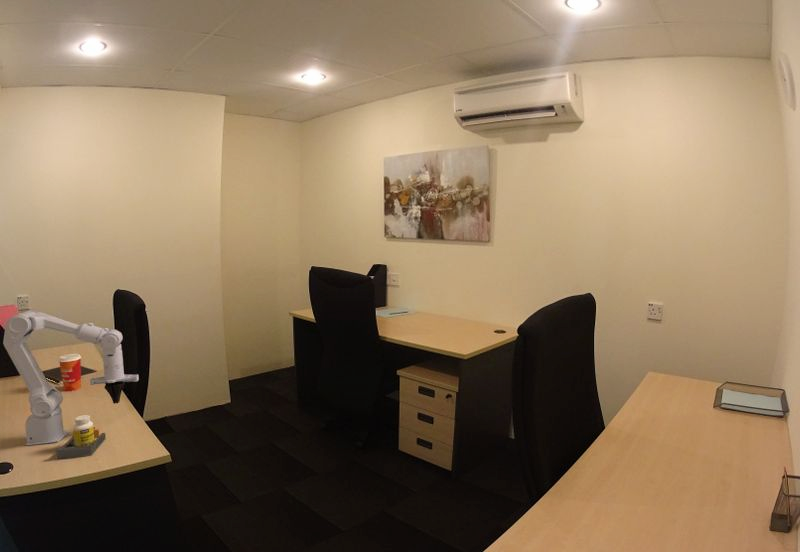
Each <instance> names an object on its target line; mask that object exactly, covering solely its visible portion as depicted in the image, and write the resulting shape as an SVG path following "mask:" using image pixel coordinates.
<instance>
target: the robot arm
mask: <svg viewBox="0 0 800 552" xmlns="http://www.w3.org/2000/svg"><path fill="white" fill-rule="evenodd" d="M3 329H4V335H3V342H2V344H3V346H4V348H5V350H6V351H7V354H8V356H9V357H10V359H11V362H12V363H13V364H14V366H15V368H16V370H17V372H18V374H19V375H20V377H21V380H22V381H23V382H24V384H25V386H26V388H27V390H28V391H29V392H28V394H29V395H28V402H29V404H30V408H29V409H30V413H31V414H30V415H29V416H28V417H27V418H26V420H25V438H26V444H25V446H33V445H34V446H35V445H43V444H51V443H52V444H53V443H58V442H61V440H63V438H64V437H65V436H67V435H68V434H69V433H70V430H64V423H63V422H64V421H63V411H62V407H61V404H62V403H63V400H64V395H63V394H62V392H60V391H59V390H58V389H56V387H55V385H53V383H50V382H49V381H48V380H46V378H45V376H44V374H43V372H42V371H43V370H42V368H41V367H40V365H39V363H38V361H37V359H36V358H35V356H34V354H33V352H32V350H31V348H30V346H29V345H28V343H27V342H28V341H27V340H28V339H29V338H30V335H31V334H32V332H34V331H35V332H36V331H39V330H43V329H44V330H45V329H48V330H54V331H58V332H63V333H67V334H71V335H73V336H75V338H76V339H77V340H78V341H79V340H80V341H83V342H87V343H89V344H93V345H97V346H100V348H101V349H102V362H103V373H104V376H100V377H99V376H98V377H92V378H91V379H89V385H90V386H95V385H103V384H104V390H106V391H107V393H108V394H109V396H110V397H111V400H112V403H113V404H119V403H120V402H121V394H122V392H123V389H124V386H125V384H126V382H127V383H130V382H134V383H135V382H138V381H139V380H140V379H139V378H140V377H139V374H125V371H124V370H125V369H124V358H123V350H122V343H121V342H122V341H123V339H124V338H123V337H124V336H123V334H122V332H121V331H119V330H117V329H115V328H111V329H109V328H108V327H105V328H104V327H103V328H102V327H100V326H97V325H94V323H93V322H89V323H82V324H76V323H74V322H71V321H67V320H64V319H63V318H59V317H55V316H53V315H50V314H47V313H45V312H41V311H40V312H38V311H36V310H33V309H32V310H31V309H29V310H25V311H23V312H22V313H18V314H17V315H13V316H11V317H10V318H9V319H8V320H7V321H6V322H5V324H4V325H3Z"/></svg>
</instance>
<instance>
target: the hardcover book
mask: <svg viewBox="0 0 800 552" xmlns="http://www.w3.org/2000/svg"><path fill="white" fill-rule="evenodd" d="M41 371H42V372H43V374H44V376H45V378H48V379H50V380H53V381H55V382H57V383H61V382H63V380H62V374H61V368H60V366H57V367H53V368H50V369H46V370H41ZM97 372H98V371H97V370H96V369H92V368H89V367H85V366H83V365H81V377H84V376H88V375H92V374H95V373H96V374H97ZM92 376H93V375H92Z"/></svg>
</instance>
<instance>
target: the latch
mask: <svg viewBox="0 0 800 552" xmlns="http://www.w3.org/2000/svg"><path fill="white" fill-rule="evenodd" d="M93 429H94V439H97V438H98V437H99V436H100V434H101V433H102V432H101V428H100V427H98V428H96V426H93Z"/></svg>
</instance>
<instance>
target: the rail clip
mask: <svg viewBox="0 0 800 552" xmlns="http://www.w3.org/2000/svg"><path fill="white" fill-rule="evenodd" d="M100 433H101V434H100V436H99V437H98V438H95V439H94V442H93V444H92V445H84V446H74V435H72V436H71V437H70V439H69V440H67V441H66V443H64V444H63V445H62V446H61V447H58V448H57V449H56V450H55V453H56V460H63V459H64V460H65V459H72V458H73V459H74V458H81V457H90V456H92V455H93V454H94V453H95V452H96V451H97V450H98V448H99V447H100V446H101V445H102V444H103V443H104V441H105V440H106V437H107V436H106V432H100Z"/></svg>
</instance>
